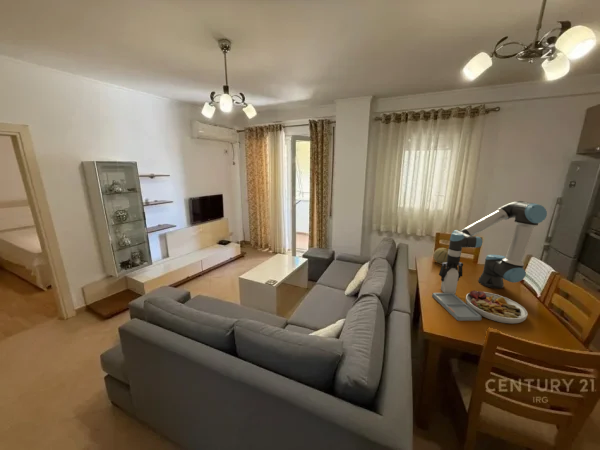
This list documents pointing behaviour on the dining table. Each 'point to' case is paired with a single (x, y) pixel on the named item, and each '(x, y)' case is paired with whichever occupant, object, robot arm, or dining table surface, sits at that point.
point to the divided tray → (456, 307)
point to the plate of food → (496, 307)
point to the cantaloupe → (441, 255)
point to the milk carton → (450, 281)
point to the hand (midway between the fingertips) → (448, 285)
